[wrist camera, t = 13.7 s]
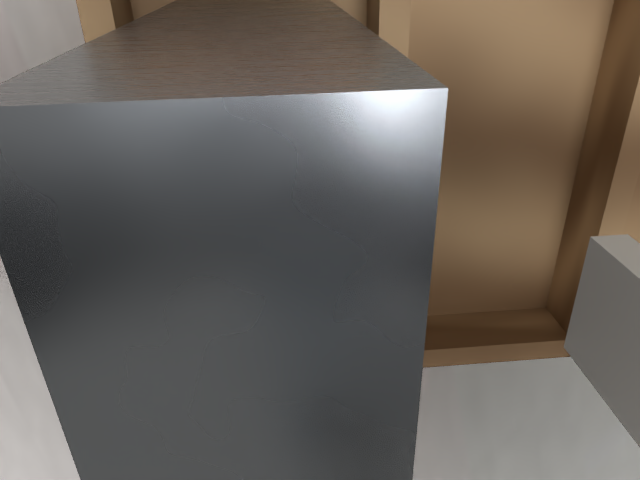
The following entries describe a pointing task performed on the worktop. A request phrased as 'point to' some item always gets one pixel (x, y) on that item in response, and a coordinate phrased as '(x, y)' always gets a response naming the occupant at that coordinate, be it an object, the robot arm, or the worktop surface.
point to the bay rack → (509, 155)
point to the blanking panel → (227, 242)
